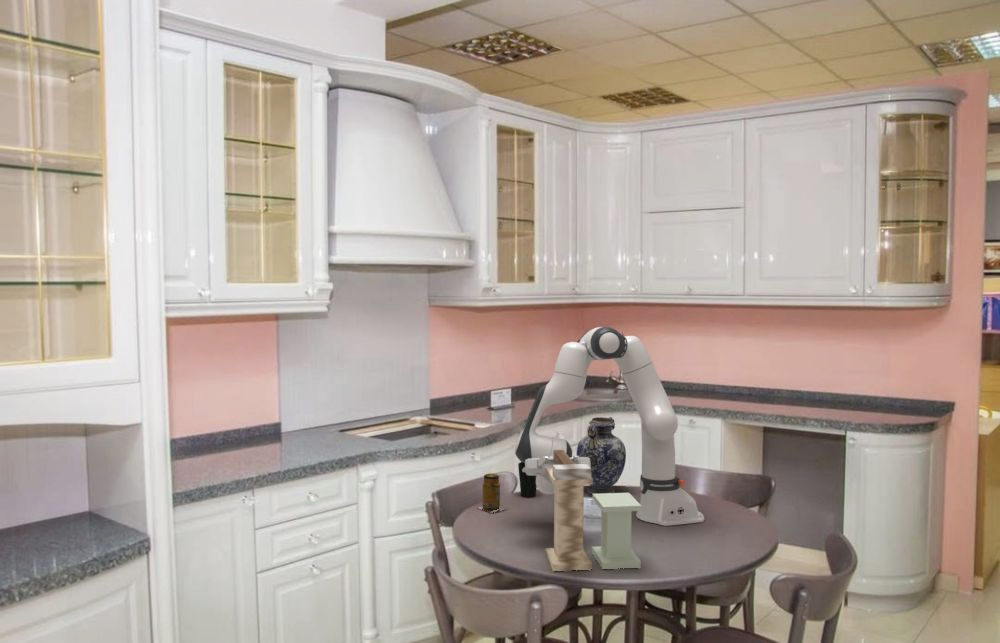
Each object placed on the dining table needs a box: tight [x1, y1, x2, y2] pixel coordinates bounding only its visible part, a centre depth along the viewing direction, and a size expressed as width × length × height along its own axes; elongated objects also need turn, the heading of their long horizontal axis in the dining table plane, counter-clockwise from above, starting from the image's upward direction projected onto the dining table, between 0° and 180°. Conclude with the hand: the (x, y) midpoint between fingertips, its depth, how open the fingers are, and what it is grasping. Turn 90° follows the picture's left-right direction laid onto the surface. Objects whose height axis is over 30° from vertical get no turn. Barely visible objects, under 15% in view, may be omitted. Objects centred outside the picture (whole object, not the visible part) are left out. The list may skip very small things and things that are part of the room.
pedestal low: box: [591, 492, 642, 570], centre depth 227 cm, size 11×13×18 cm
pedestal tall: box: [545, 468, 593, 572], centre depth 225 cm, size 11×13×26 cm
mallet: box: [553, 450, 591, 480], centre depth 229 cm, size 10×23×3 cm, turn 6°
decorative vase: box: [576, 416, 627, 496], centre depth 297 cm, size 21×19×28 cm
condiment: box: [477, 473, 501, 514], centre depth 276 cm, size 7×8×12 cm
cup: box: [517, 461, 538, 499], centre depth 292 cm, size 8×8×12 cm
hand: (561, 458), depth 235 cm, fingers open, 8 cm apart
